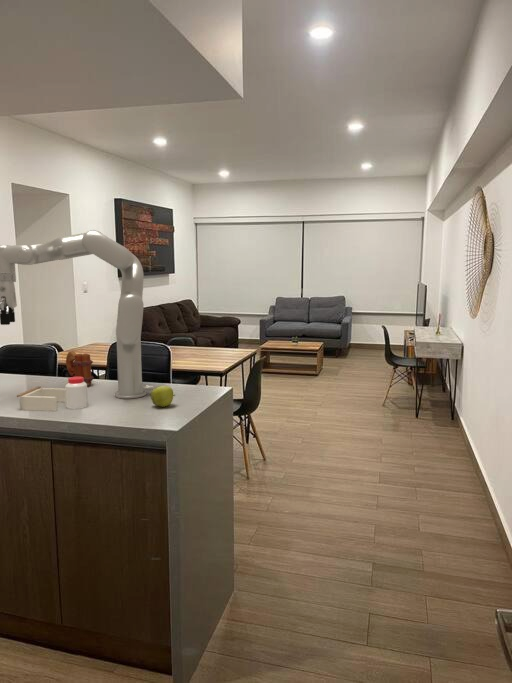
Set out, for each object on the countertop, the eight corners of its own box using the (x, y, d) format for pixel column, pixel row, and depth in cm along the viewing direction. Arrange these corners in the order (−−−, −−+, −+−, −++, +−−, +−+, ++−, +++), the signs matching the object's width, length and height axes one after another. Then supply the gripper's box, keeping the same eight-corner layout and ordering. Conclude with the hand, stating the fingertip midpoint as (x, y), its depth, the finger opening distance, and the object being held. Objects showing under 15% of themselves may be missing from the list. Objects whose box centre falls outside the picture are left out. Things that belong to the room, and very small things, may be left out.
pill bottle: (80, 402, 198) (79, 375, 196) (92, 406, 193) (90, 377, 191) (62, 406, 192) (60, 378, 190) (73, 410, 187) (72, 381, 185)
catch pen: (73, 401, 200) (72, 387, 199) (55, 411, 186) (54, 396, 185) (38, 400, 201) (37, 386, 201) (17, 409, 187) (16, 395, 186)
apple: (178, 407, 191) (178, 386, 190) (155, 410, 186) (154, 389, 185) (171, 402, 198) (170, 382, 197) (148, 405, 193) (147, 385, 192)
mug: (98, 385, 228) (96, 352, 225) (83, 388, 221) (81, 354, 219) (76, 381, 235) (74, 349, 233) (61, 384, 228) (59, 351, 226)
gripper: (11, 278, 184) (14, 325, 187) (19, 277, 201) (22, 321, 203) (-12, 278, 182) (-9, 326, 185) (-1, 278, 199) (2, 321, 201)
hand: (8, 323), depth 194 cm, fingers open, 9 cm apart
